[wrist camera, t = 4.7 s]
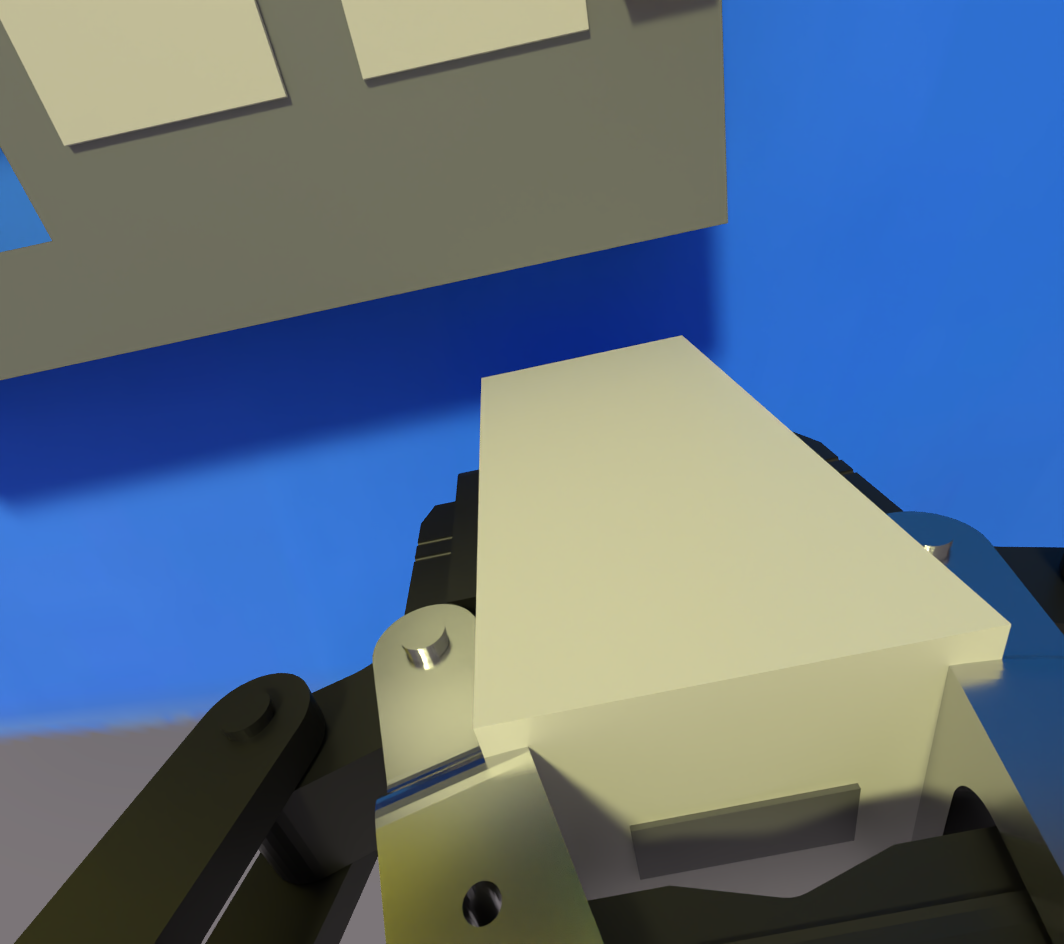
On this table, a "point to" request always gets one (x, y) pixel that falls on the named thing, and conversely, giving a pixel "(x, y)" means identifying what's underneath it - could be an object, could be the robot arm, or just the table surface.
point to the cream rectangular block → (702, 629)
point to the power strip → (335, 153)
